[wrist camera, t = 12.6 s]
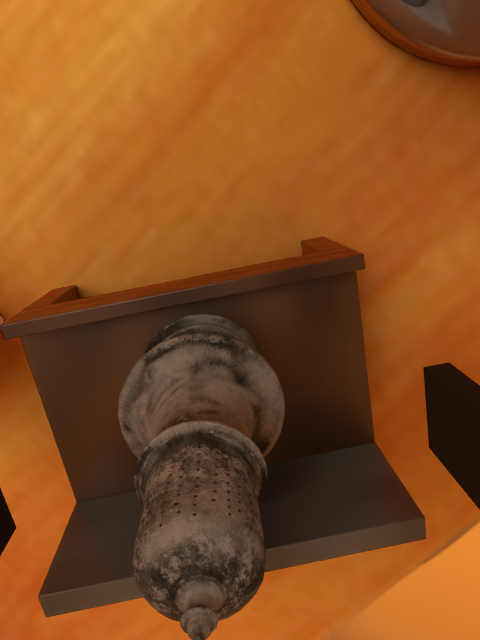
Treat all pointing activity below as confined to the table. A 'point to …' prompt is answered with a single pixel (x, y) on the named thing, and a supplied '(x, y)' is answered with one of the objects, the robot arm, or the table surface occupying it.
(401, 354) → the table surface
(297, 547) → the spice rack
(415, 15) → the robot arm
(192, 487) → the salt shaker
